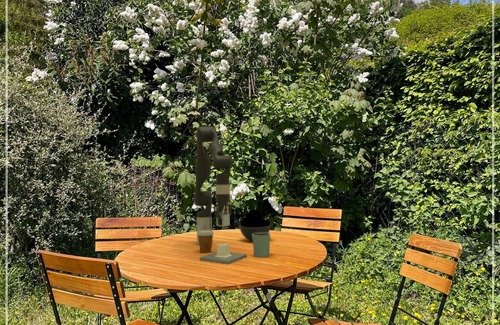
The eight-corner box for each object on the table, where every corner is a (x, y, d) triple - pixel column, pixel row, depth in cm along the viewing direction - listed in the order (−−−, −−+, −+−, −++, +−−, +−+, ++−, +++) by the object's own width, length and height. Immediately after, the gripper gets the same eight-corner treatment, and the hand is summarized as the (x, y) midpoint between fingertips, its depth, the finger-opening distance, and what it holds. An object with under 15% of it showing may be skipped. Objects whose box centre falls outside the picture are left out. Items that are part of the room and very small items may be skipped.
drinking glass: (264, 258, 232) (264, 236, 232) (248, 256, 237) (248, 234, 237) (273, 254, 240) (273, 233, 240) (258, 252, 246) (257, 231, 246)
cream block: (222, 254, 236) (222, 243, 236) (230, 255, 233) (229, 244, 233) (217, 256, 232) (216, 244, 232) (224, 257, 229) (224, 245, 229)
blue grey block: (222, 224, 236) (222, 213, 236) (229, 225, 233) (229, 214, 233) (216, 225, 232) (216, 214, 232) (224, 226, 229) (224, 215, 229)
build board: (219, 253, 245) (219, 250, 245) (246, 257, 235) (246, 254, 235) (199, 260, 230) (199, 257, 230) (227, 264, 220) (227, 261, 220)
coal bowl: (263, 237, 295) (263, 209, 294) (275, 242, 276) (275, 212, 276) (235, 239, 288) (235, 210, 287) (245, 244, 269) (245, 214, 269)
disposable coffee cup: (216, 250, 253) (216, 230, 253) (209, 254, 244) (209, 232, 244) (201, 249, 256) (201, 229, 256) (194, 253, 247) (194, 232, 247)
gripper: (220, 194, 224) (221, 227, 224) (236, 192, 236) (236, 223, 236) (208, 193, 228) (209, 226, 228) (224, 191, 240) (225, 222, 240)
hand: (223, 224), depth 232 cm, fingers closed on blue grey block, 5 cm apart
